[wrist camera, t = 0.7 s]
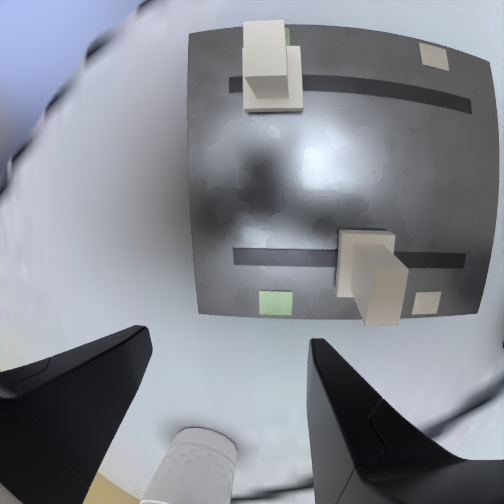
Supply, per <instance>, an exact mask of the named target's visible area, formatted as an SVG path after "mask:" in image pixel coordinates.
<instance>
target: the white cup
mask: <svg viewBox="0 0 504 504" xmlns="http://www.w3.org/2000/svg"><path fill="white" fill-rule="evenodd" d="M236 458H237V449H236V447H235V444H234V443H233V442H231V441H230V440H229V439H228V438H227V437H225V436H224V435H221V434H219V433H217V432H214V431H212V430H208V429H202V428H185V429H184V430H182V431H180V432H179V433H177V435H176V437H175V439H174V441H173V443H172V445H171V447H170V449H169V451H168V452H167V453H166V454H165V456H164V458H163V460H162V462H161V464H160V465H159V467H158V469H157V471H156V473H155V475H154V477H153V478H152V480H151V482H150V484H149V486H148V488H147V490H146V492H145V494H144V495H143V497H142V499H141V501H140V504H230V500H231V495H232V488H233V481H234V468H235V463H236Z"/></svg>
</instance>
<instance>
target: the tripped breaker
mask: <svg viewBox="0 0 504 504" xmlns="http://www.w3.org/2000/svg"><path fill="white" fill-rule="evenodd" d="M394 244H395V235H394V234H393V233H392V232H390V231H372V230H341V229H339V243H338V259H337V272H336V284H335V292H336V295H337V297H354V300H355V302H356V304H357V307H358V309H359V312H360V314H361V317H362V319H363V322H364V325H365V326H382V325H399V320H400V316H401V311H402V306H403V301H404V295H405V290H406V284H407V278H408V271H409V269H408V268H407V267H406V266H405V265H404V264H403V263H402V262H401V261H400V260H399V259H398V258H397V257H396V256H395V255H394V254H393V253H394Z"/></svg>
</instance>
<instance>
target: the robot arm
mask: <svg viewBox="0 0 504 504" xmlns="http://www.w3.org/2000/svg"><path fill="white" fill-rule="evenodd" d="M503 348H504V345H503ZM152 351H153V348H152V343H151V338H150V333H149V330H148V328H147V327H146V326H140V325H134V326H132V327H129V328H127V329H124V330H121V331H119V332H116V333H114V334H111V335H108V336H106V337H103V338H100V339H98V340H95V341H92V342H90V343H87V344H84V345H82V346H79V347H76V348H74V349H71V350H68V351H65V352H63V353H60V354H57V355H54V356H52V357H49V358H46V359H43V360H40V361H37V362H34V363H31V364H28V365H25V366H21V367H18V368H14V369H11V370H7V371H3V372H0V504H83V501H84V499H85V497H86V495H87V493H88V490H89V487H90V486H91V484H92V481H93V479H94V477H95V475H96V473H97V471H98V469H99V467H100V465H101V463H102V461H103V459H104V456H105V454H106V452H107V450H108V448H109V446H110V444H111V442H112V440H113V438H114V436H115V434H116V432H117V430H118V428H119V426H120V424H121V422H122V420H123V418H124V416H125V414H126V412H127V410H128V408H129V406H130V404H131V403H132V401H133V399H134V397H135V395H136V393H137V391H138V389H139V386H140V384H141V381H142V379H143V376H144V373H145V371H146V368H147V366H148V363H149V360H150V358H151V355H152ZM307 418H308V428H309V437H310V447H311V458H312V469H313V480H314V492H315V504H504V460H468V459H463V458H460V457H457V456H455V455H453V454H452V453H450V452H449V451H447V450H446V449H444V448H443V447H442V446H440V445H439V444H437V443H436V442H435V441H433V440H432V439H431V438H429V437H428V436H427V435H425V434H424V433H423V432H421V431H420V430H419V429H417V428H416V427H415V426H414V425H412V424H411V423H410V422H409V421H407V420H406V419H405V418H404V417H403V416H401V415H400V414H399V413H398V412H397V411H396V410H395V409H394V408H393V407H392V406H391V405H390V404H389V403H388V402H387V401H386V400H385V399H383V398H382V396H381V395H380V394H379V393H378V392H377V391H376V390H375V389H374V388H373V387H372V386H371V385H370V384H369V383H368V382H367V381H366V380H365V379H364V378H363V377H362V376H361V375H360V374H359V373H358V372H357V371H356V370H355V369H354V368H353V367H352V366H351V365H350V364H349V363H348V362H347V361H346V360H345V359H344V358H343V357H342V356H341V355H340V354H339V353H338V352H337V351H336V350H335V349H334V348H333V347H332V346H331V345H330V344H329V343H328V342H327V341H326V340H325V339H323V338H312V339H310V343H309V354H308V365H307Z"/></svg>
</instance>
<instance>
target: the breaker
mask: <svg viewBox="0 0 504 504" xmlns="http://www.w3.org/2000/svg"><path fill="white" fill-rule="evenodd" d="M243 47H244V48H242V60H243V109H244V110H245V111H246V112H279V111H298V112H303V90H302V70H301V53H300V46H286V37H285V26H284V20H264V21H248V22H243Z"/></svg>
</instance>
